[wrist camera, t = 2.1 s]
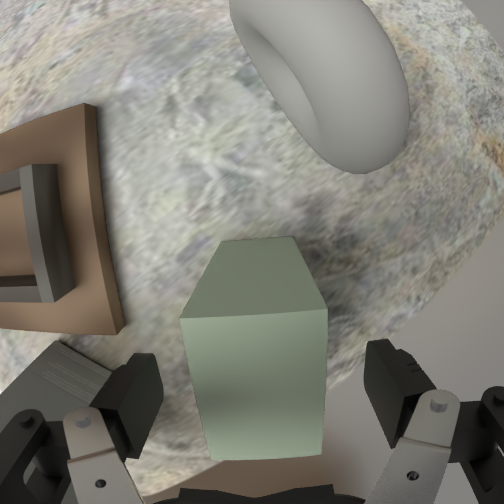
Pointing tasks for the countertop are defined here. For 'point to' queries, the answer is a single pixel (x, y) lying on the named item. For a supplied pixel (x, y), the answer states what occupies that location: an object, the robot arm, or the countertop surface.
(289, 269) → the keyed peg
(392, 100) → the donut
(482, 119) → the countertop surface
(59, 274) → the keyed socket board
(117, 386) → the robot arm
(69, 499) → the skincare box
